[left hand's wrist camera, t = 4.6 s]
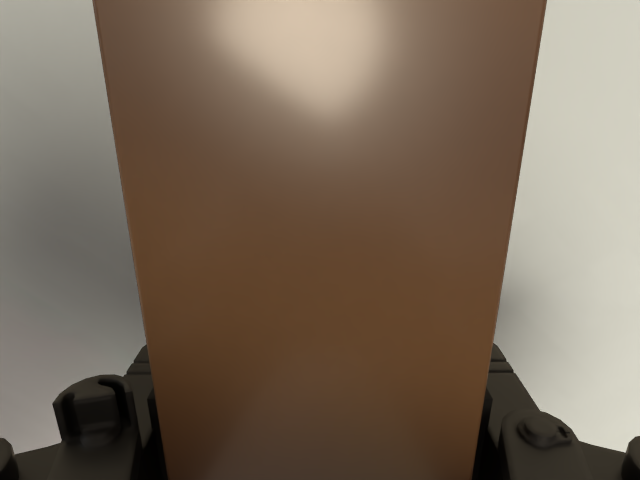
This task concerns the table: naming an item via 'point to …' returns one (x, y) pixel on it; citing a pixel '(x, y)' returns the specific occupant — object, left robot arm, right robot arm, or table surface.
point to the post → (319, 224)
